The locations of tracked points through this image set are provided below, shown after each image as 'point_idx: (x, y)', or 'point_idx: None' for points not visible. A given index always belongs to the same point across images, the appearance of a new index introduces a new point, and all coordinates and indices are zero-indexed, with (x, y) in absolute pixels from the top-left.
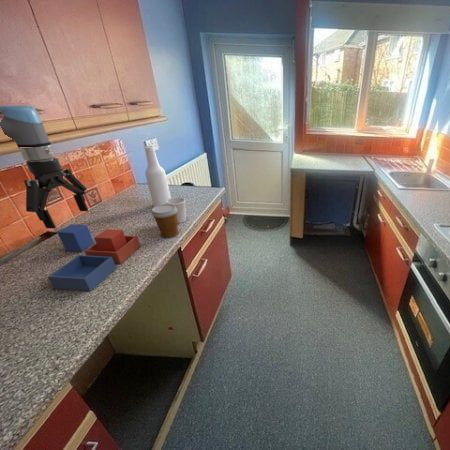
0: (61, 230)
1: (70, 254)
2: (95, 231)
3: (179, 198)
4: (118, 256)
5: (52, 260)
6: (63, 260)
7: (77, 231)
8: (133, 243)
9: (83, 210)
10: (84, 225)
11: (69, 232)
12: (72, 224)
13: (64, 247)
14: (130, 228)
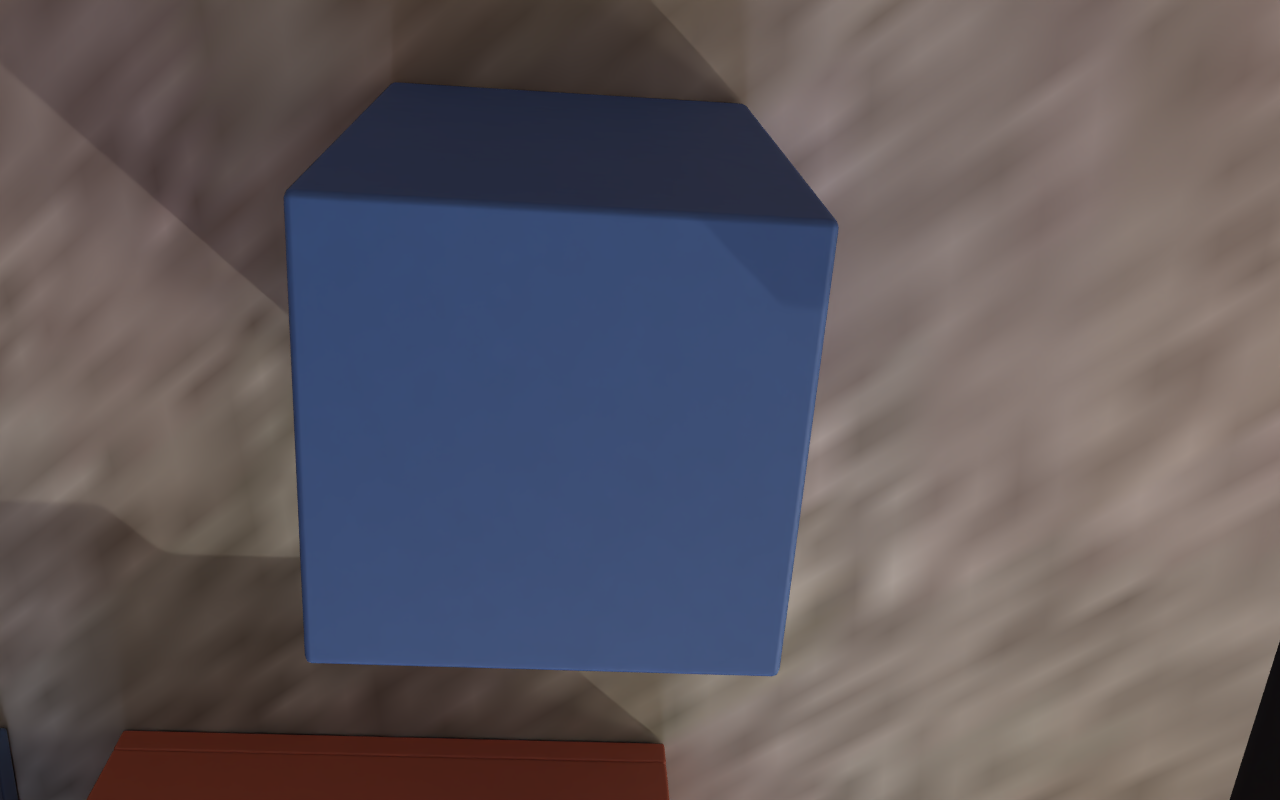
0: (402, 245)
1: (278, 274)
2: (1237, 116)
3: None
4: None
5: (26, 90)
6: (72, 299)
7: (441, 652)
8: None
9: (1268, 750)
10: (752, 643)
11: (316, 554)
12: (818, 277)
13: (379, 96)
14: None
